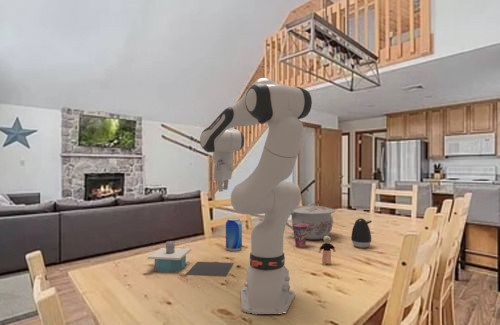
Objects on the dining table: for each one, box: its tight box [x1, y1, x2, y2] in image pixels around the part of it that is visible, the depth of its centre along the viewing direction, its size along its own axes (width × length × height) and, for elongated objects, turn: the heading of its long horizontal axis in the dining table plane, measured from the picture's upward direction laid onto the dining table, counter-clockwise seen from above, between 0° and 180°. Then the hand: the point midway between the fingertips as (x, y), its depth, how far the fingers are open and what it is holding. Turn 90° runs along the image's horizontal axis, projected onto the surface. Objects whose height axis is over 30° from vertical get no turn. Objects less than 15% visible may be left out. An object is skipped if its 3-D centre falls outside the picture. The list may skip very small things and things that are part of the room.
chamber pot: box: [285, 202, 336, 241], centre depth 191 cm, size 28×28×21 cm
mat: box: [184, 261, 235, 278], centre depth 135 cm, size 17×17×1 cm
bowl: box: [154, 254, 187, 273], centre depth 137 cm, size 12×12×6 cm
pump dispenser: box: [350, 218, 372, 249], centre depth 169 cm, size 10×10×15 cm
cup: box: [291, 223, 310, 249], centre depth 170 cm, size 9×8×12 cm
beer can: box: [225, 217, 243, 252], centre depth 166 cm, size 8×8×16 cm
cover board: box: [147, 240, 192, 260], centre depth 137 cm, size 14×14×5 cm
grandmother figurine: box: [317, 235, 337, 266], centre depth 141 cm, size 8×4×13 cm, turn 105°
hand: (223, 190), depth 142 cm, fingers open, 8 cm apart
